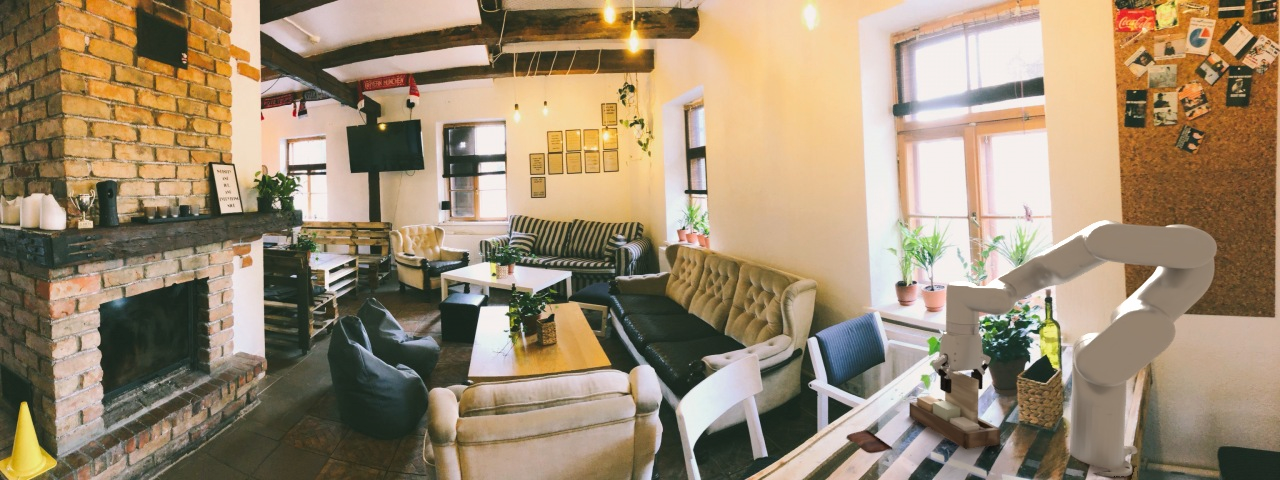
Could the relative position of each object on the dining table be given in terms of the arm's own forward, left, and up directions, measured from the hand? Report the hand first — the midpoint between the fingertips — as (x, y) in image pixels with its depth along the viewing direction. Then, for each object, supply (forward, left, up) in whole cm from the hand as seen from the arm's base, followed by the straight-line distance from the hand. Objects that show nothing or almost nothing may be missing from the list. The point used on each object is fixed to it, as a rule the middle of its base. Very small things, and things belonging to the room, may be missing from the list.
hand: (961, 389), depth 137 cm
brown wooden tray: (+3, 0, -12) cm, 13 cm away
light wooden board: (0, 0, -11) cm, 11 cm away
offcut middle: (+5, 0, -11) cm, 12 cm away
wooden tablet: (+17, -3, -13) cm, 22 cm away
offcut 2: (+5, +6, -11) cm, 13 cm away
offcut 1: (+5, -6, -11) cm, 13 cm away
